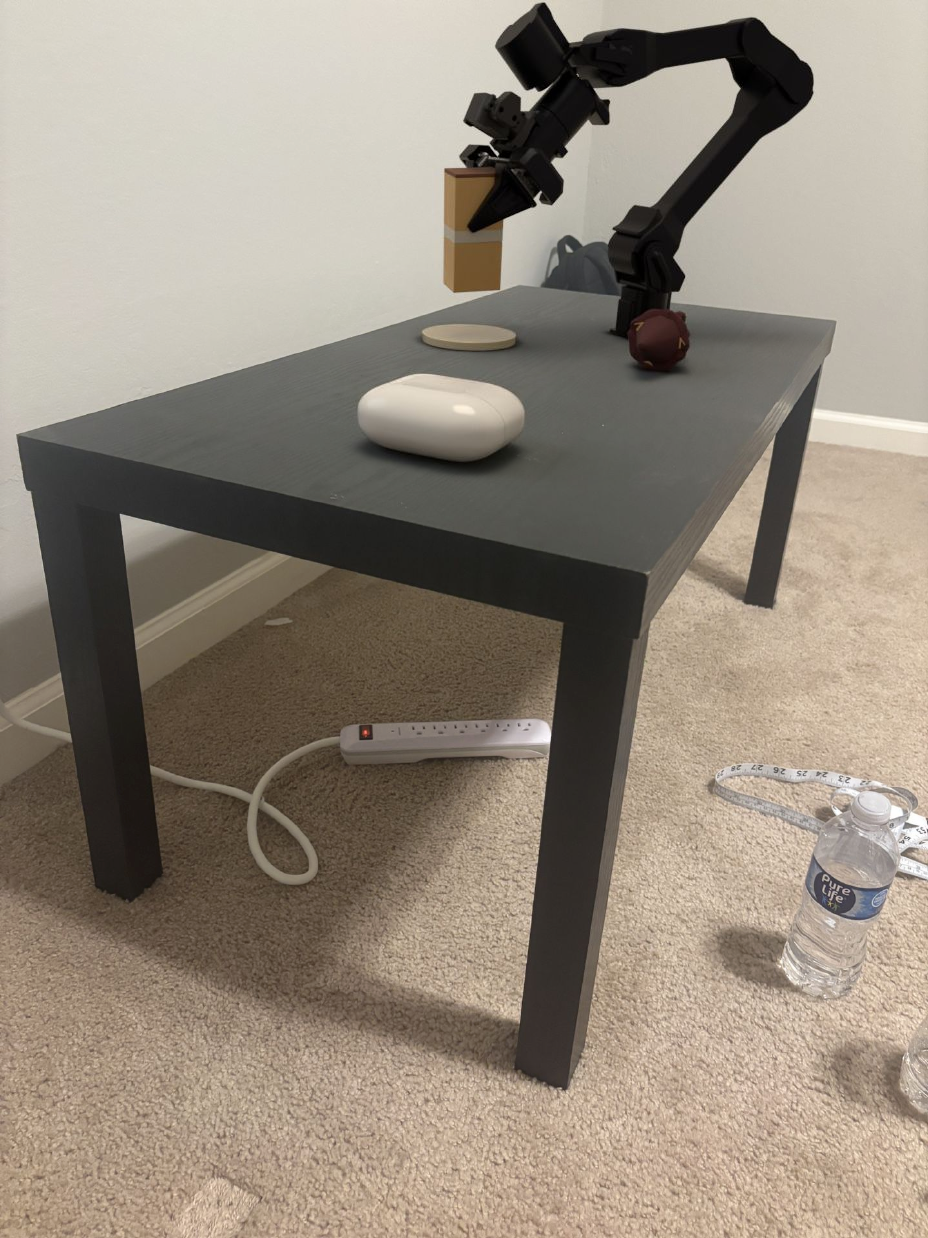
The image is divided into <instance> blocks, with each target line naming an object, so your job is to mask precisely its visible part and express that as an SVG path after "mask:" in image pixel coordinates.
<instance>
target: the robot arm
mask: <svg viewBox="0 0 928 1238" xmlns="http://www.w3.org/2000/svg"><path fill="white" fill-rule="evenodd" d="M494 48H495V50H496V51H497V52H498V54H499V55H500V57H501V59H503V61H504V62H505V64H506V65H507V66H508V68H509V70H510V71H511V72H512V74H513V75H514V77H515V78H516V79H517V81H518V82H519V84H520V85H521V87H522V88H523V89H524V91H526V92H527V91H528V92H529V91H532V90H533V89H534V90H536V91H537V92H538V93H541V92H543V91H545V92H544V93H543V94H542V95H541V96H540V97H539V98H538V100H537V101H536V102H535V103H534V104H533V106H532V107H531V108H530V109H529V110H522V97H521V96H519V95H518V94H516V93H515V92H513V91H512V90H510V91H509V90H508V91H503V92H502V93H501V94H500V95H499V96H497V95H496V94H495V93H489V92H474V93H473V95H472V97H471V100H470V102H469V105H468V107H467V110H466V112H465V115H464V117H463V121H462V122H463V123H464V124H465V125H466V126H468V127H469V128H472V127H473V128H475V129H476V130H478V131H480V132H482V133H483V134H485V135H486V136H488V137H489V138H492V139H491V140H490V141H489V144H470V143H469V144H468V145H467V146H466V147H465V148H464V150H462V152H461V153H460V154H459V155H458V157H459V160H460V161H461V162H462V164H463V165H464V166H465V168H477V167H493V168H495V179H494V185H493V187H492V188H491V190H490V191H489V193H488V194H487V196H486V197H485V199H484V200H483V202H482V203H481V205H480V206H479V208H478V209H477V211H476V212H475V214H474V215H473V217H472V218H471V220H470V222H469V223H468V225H467V227H468V229H469V230H470V231H471V232H472V233H475V232H477V231H480V230H482V229H484V228H486V227H488V226H490V225H493V224H495V223H497V222H499V221H501V220H503V221H504V220H506V219H508V218H510V217H513V216H515V215H517V214H521V213H522V212H524V211H527V210H529V209H534V208H536V207H537V206H538V203H537V202H536V200H535V198H536V197H537V196H538V195H539V198H538V201H539V202H540V203H541V204H542V205H546V206H553V205H554V204H555V203H556V202H557V200H558V199H559V198H560V197H561V196H562V195H563V193H564V183H565V180H564V178H563V177H562V175H561V174H560V173H559V171H558V169H556V167H555V166H554V164H553V163H552V162H553V161H554V160H555V159H564V158H565V156H566V155H567V154H568V153H569V150H568V149H567V147H566V146H567V145H568V144H569V143H570V142H571V140H572V139H573V138H574V137H575V136H576V135H577V133H578V132H579V131H581V129H582V128H583V127H584V126H585V124H586V123H587V122H588V121H589V123H590V124H591V125H592V126H609V125H610V122H611V114H610V104H611V99H609V98H600V96H599V95H598V93H597V92H596V90H595V89H609V88H622V87H626V86H628V85H631V84H633V83H636V82H639V81H640V80H643V79H645V78H647V77H649V76H651V75H652V74H654V73H656V72H659V71H661V70H664V69H668V68H674V67H679V66H685V65H686V66H687V65H692V64H699V63H704V62H710V61H716V60H722V59H725V60H726V62H727V63H728V66H729V69H730V72H731V76H732V79H733V81H734V82H735V84H736V85H737V86H738V87H739V89H738V92H737V93H736V96H735V101H734V104H733V108H732V112H731V114H730V115H729V117H728V119H726V121H725V122H724V123H723V125H721V126H720V127H719V129H718V130H717V131H716V132H715V134H714V135H713V136H712V137H711V138H710V140H708V142H707V143H706V144H705V145H704V147H703V148H702V149H701V150H700V151H699V152H698V154H697V155H695V157H694V158H693V159H692V161H691V162H690V163H689V164H688V166H686V168H685V169H684V170H683V171H682V173H681V174H680V175H679V176H678V177H677V179H675V181H674V182H673V183H672V184H671V185H670V187H669V188H668V189H667V190H666V191H665V193H664V194H663V195H662V196H661V197H660V198H659V199H658V201H657V202H656V203H655V204H653V205H650V206H645V205H638V204H634V205H632V206H631V208H630V209H628V211H627V213H626V214H625V216H624V217H623V219H622V220H621V221H620V222H619V223H618V224H617V225H614V226H613V227H612V228H611V230H612V231H614V233H613V234H612V235H611V237H610V238H609V240H608V243H607V257H608V262H609V264H610V265H611V268H612V269H613V272H614V277H615V282H616V283H617V284H619V285H621V284H622V285H624V286H621V291H620V298H618V301H617V312H616V320H615V327H610V328H609V330H608V333H611V334H616V335H619V336H622V337H626V338H628V335H627V334H628V331H629V330H630V323H631V321H633V320H634V319H635V318H637V317H639V316H641V315H642V314H643V313H645V312H646V311H648V310H650V309H662V310H665V309H669V310H671V302H672V296H673V295H672V294H673V293H679V292H680V290H681V289H682V287H683V283H684V282H685V279H686V274H685V273H684V271H683V269H682V268H681V266H680V265H679V264H678V262H677V260H676V259H675V256H676V254H677V252H678V251H679V249H680V246H681V243H682V239H683V236H684V231H685V228H686V227H687V225H688V224H689V223H690V221H691V220H692V219H693V218H694V217H695V216H696V215H697V213H699V211H700V210H701V209H702V207H703V206H704V205H705V204H706V203H707V202H708V201H709V200H710V198H711V197H712V196H713V195H714V194H715V193H716V191H717V190H718V189H719V188H720V187H721V185H722V184H723V183H724V182H725V181H726V180H727V179H728V177H729V176H730V175H731V174H732V173H733V172H734V171H735V169H736V168H737V167H738V166H739V164H740V163H742V161H743V160H744V159H745V158H746V156H747V155H748V154H749V153H750V152H751V150H752V149H753V148H754V147H755V146H756V144H757V143H758V142H759V141H761V139H762V138H764V137H766V136H767V135H769V134H770V133H771V134H772V133H773V132H775V131H776V130H778V129H780V128H781V127H783V126H785V125H786V124H788V123H789V122H791V120H793V118H795V117H796V116H797V115H798V114H800V113H801V112H802V111H803V110H804V109H805V108H806V107H807V106H808V105H809V103H810V102H811V100H812V98H813V96H814V85H815V79H814V73H813V70H812V67H811V66H810V65H809V63H808V62H806V61H804V60H802V59H800V57H799V55H798V54H797V52H795V51H794V50H793V49H792V48H791V47H790V46H788V45H787V44H786V43H784V42H783V41H781V39H779V38H777V36H775V35H774V34H772V33H771V31H770V30H769V28H768V27H767V26H766V25H765V23H764V22H763V21H761V20H760V19H759V18H757V17H756V16H755V17H754V16H750V17H743V18H735V19H730V20H729V21H727V22H724V23H717V24H711V25H705V26H698V27H692V28H686V29H685V28H684V29H680V30H672V31H668V32H667V31H666V32H657V31H651V30H647V29H636V28H628V27H627V28H625V27H622V28H621V27H619V28H613V29H612V28H611V29H606V30H601V31H600V30H599V31H593V32H591V33H589V34H587V35H585V36H584V37H582V40H579V41H572V42H569V40H568V39H567V37H566V36H565V34H564V33H563V31H562V30H561V27H559V25H558V23H557V22H556V20H555V18H554V16H553V14H552V12H551V9H550V8H549V6H548V4H547V3H546V2H544V1H542V2H537V3H535V4H534V5H533V6H532V8H531V9H530V10H529V11H527V12H525V13H524V14H523V15H522V16H520V17H519V18H518V19H517V20H515V21H514V22H513V23H511V24H509V25H508V26H507V27H506V28H505V29H504V30H503V31H502V33H501V34H500V36H499V37H498V38H497V40H496V41H495V44H494ZM495 152H497V154H496V153H495Z"/></svg>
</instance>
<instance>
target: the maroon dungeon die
mask: <svg viewBox="0 0 928 1238" xmlns="http://www.w3.org/2000/svg"><path fill="white" fill-rule="evenodd" d="M686 320H687V315H686V312H683V311H681V310H679V311H674V310H671V309H670V310H669V309H665V310H662V309H650V310H648V311H646V312H645V313H643V314H642V315H641V316H639V317H637V318H635V319H634V320H633V321H631V323H630V330H629V331H628V334H627V335H628V337H627V340H628V351H629V355H630V357H631V358H632V359H633V360H634V361H636V363H638V364H639V365H640V366H641V367H643V368H644V369H645V370H650V371H659V372H668V371H670V370H671V369H672V368H674V367H675V366H676V365H677V364H678V363H679V362H681V361H682V360H684V359H686V356H687V353H688V351H689V349H690V336H691V333H690V330H689V329H688V327H687V324H686Z"/></svg>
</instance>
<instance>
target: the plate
mask: <svg viewBox="0 0 928 1238" xmlns="http://www.w3.org/2000/svg"><path fill="white" fill-rule="evenodd" d="M421 340H422V342H423V343H425V344H427V345H429V346H432V347H436V348H440V349H447V350H452V351H453V350H454V351H468V352H469V351H472V352H475V351H476V352H478V351H479V352H480V351H481V352H483V351H497V350H503V349H509V348H510V347H513V346H515V344H516V343H517V342H516V341H517V334H516V333H515V332H514V331H512V330H509V329H507V328H503V327H498V326H492V325H485V324H472V323H471V324H470V323H453V324H439V325H438V324H437V325H433V326H429V327H426V328H424V329H423V330H422V332H421Z"/></svg>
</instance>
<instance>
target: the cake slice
mask: <svg viewBox="0 0 928 1238" xmlns="http://www.w3.org/2000/svg"><path fill="white" fill-rule="evenodd" d="M443 171H444V172H443V173H444V174H443V175H444V176H443V268H442V269H443V271H442V272H443V273H442V275H443V278H442V279H443V280H442V281H443V285H444V286H446V287H447V289H449V290H450V291H451V292H452V293H454V294H459V293H476V292H491V291H492V292H493V291H501V282H502V281H501V280H502V263H503V262H502V261H503V260H502V257H503V241H504V239H503V236H504V220H501V221H499V222H497V223H495V224H493V225H490V226H488V227H486V228H484V229H482V230H480V231H477V232H475V233H472V232H471V231H470V230H469V229H468V227H467V225H468V223H469V222H470V220H471V218H472V217H473V215H474V214H475V212H476V211H477V209H478V208H479V206H480V205H481V203H482V202H483V200H484V199H485V197H486V196H487V194H488V193H489V191H490V190H491V188H492V187H493V185H494V179H495V168H493V167H477V168H466V167H444V169H443Z"/></svg>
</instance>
